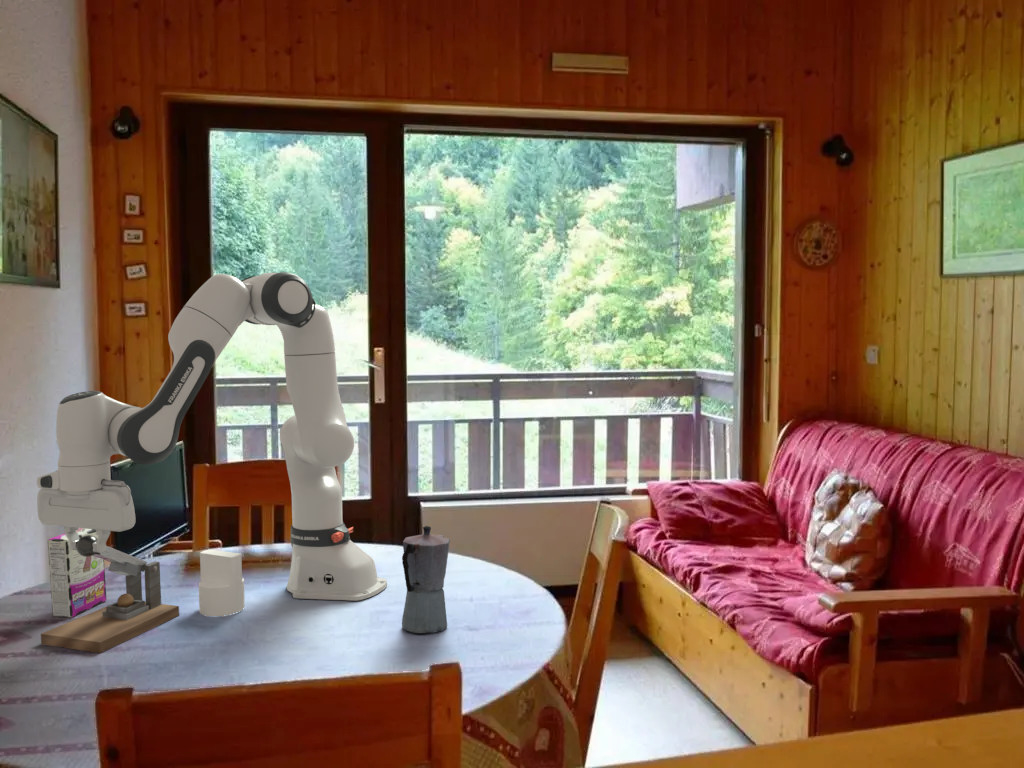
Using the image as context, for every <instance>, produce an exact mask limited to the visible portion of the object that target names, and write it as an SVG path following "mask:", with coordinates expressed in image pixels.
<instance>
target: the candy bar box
mask: <svg viewBox="0 0 1024 768" xmlns="http://www.w3.org/2000/svg"><path fill="white" fill-rule="evenodd" d="M76 531H77V533H78V536H79V538H82V537H83V536H87V535H91V536H94V537H96V538H97V539H98V536H99V535H96V529H86V528H79V529H78V530H76ZM47 552H48V567H49V578H50V579H49V580H50V598H51V610H52V611H51V612H52V613H51V614H52V617H55V618H74V617H77V616H78V615H81V614H82V613H84V612H87V611H88V610H90V609H93V608H94V607H96V606H98V605H101V604H103V603H104V602H107V587H106V586H107V585H106V569H105V568H106V567H105V560H103V559H101V558H98V557H95V556H90V557H84V556H82V555H80V554H79V553H78V552H77V550H71V549H70V541H69V540H68V538H67V536H66V534H65V533H62V534H59V535H56V536H54V537H53V536H52V537H51V538H48V539H47Z"/></svg>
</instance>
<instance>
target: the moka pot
mask: <svg viewBox="0 0 1024 768" xmlns="http://www.w3.org/2000/svg"><path fill="white" fill-rule="evenodd" d="M422 528H423V534H417V535H412V536H407V537H405V538H404V540H403V541H402V548H403V553H402V557H401V560H402V566H403V573H404V579H405V586H406V596H405V602H404V606H403V607H404V608H403V614H402V618H401V627H402V629H403V630H404V631H407V632H410V633H414V634H431V633H438V632H441V631H444V630H445V629H446V628H447V627H448V620H447V619H448V618H447V609H446V599H445V590H444V586H445V578H446V572H447V565H448V556H449V549H450V541H451V540H450V538H449V537H448V538H447V537H445V536H444V535H443V534H430V533H431V529H432V527H431V526H428V525H426V526H423V527H422Z"/></svg>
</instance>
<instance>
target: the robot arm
mask: <svg viewBox="0 0 1024 768" xmlns="http://www.w3.org/2000/svg"><path fill="white" fill-rule="evenodd" d="M245 322H246V323H249V324H253V325H263V326H277V327H278V329H279V330H280V333H281V336H282V339H283V354H284V355H283V357H284V358H283V359H284V369H285V370H284V371H285V382H286V383H285V385H286V392H287V394H288V396H289V398H290V401H291V405H292V409H293V412H294V415H292V416H290V417H289V418H287V419H286V420H285V421H284V422H283V423H282V425H281V428H280V431H279V438H280V439H279V441H280V443H281V445H282V447H283V448H282V449H283V452H284V457H285V459H284V460H285V464H286V470H287V475H288V479H289V484H290V491H291V514H292V515H291V518H292V524H291V526H290V545H291V548H292V550H291V551H292V552H291V562H290V570H289V577H288V581H287V584H286V590H287V591H288V592H289V593H291V594H292V597H293V598H294V599H302V600H303V599H304V600H305V599H307V600H331V601H362V600H365V599H368V598H371V597H373V596H376V595H377V594H379V593H382V592H383V590H384V589H386V587H388V582H387V578H384V577H378V572H377V566H376V563H375V561H374V559H373V558H372V556H370V554H368V553H367V552H366V551H364V550H363V548H360V547H359V546H358V545H357V544H355V542H353V541H352V540H351V537H350V534H351V533H353V532H354V526H352V527H349V528H347V526H346V524H345V522H344V521H343V491H342V485H341V484H340V481H339V479H338V476H337V471H336V467H339V466H341V465H343V464H345V463H346V462H347V461H348V460H349V459H350V458H351V456H352V454H353V452H354V447H355V439H354V436H353V434H352V432H351V430H350V428H349V426H348V424H347V423H348V422H347V420H346V415H345V411H344V407H343V403H342V399H341V396H340V391H339V385H338V375H337V363H336V347H335V339H334V333H333V327H332V323H331V319H330V315H329V312H328V310H326V309H325V307H323V306H321V305H319V304H316V301H315V299H314V297H313V293H312V291H311V288H310V286H309V285H308V283H307V282H306V281H305V280H304V279H303V278H302V277H300V276H299V275H297V274H294V273H291V272H287V271H283V272H282V271H280V272H265V273H262V274H261V273H260V274H259V275H253V276H248V277H246V278H244V279H241V280H240V279H239V278H237V277H236V276H234V275H230V274H226V273H217V274H214V275H212V276H211V277H210V278H208V279H207V280H206V281H205V282H204V283H203V284H202V285H201V286H200V287H199V288H198V289H197V290H196V291H195V292H194V293H193V294H192V296H191V297H190V298H189V300H188V301H187V302H186V303H185V304H184V305H183V307H182V309H181V310H180V311H179V313H178V314H177V316H176V317H175V319H174V321H173V322H172V325H171V328H170V330H169V332H168V337H167V338H168V344H169V347H170V350H171V352H172V353H173V364H172V366H171V369H170V371H169V372H168V374H167V376H166V377H165V379H164V381H163V382H162V384H161V386H160V387H159V389H158V390H157V392H156V394H155V395H154V397H153V398H152V400H151V402H149V403H148V404H147V405H145V406H144V407H139V406H135V405H132V404H128V403H124V402H121V401H119V400H116V399H114V398H113V397H109V396H107V395H106V394H104V392H102V391H98V390H87V391H81V392H77V393H74V394H70V395H67V396H65V397H64V398H62V400H60V401H59V403H58V407H57V410H56V424H55V425H56V426H55V430H56V433H55V434H56V435H55V436H56V443H57V447H58V449H59V456H58V459H57V470H55V471H52V472H50V473H46V474H43V475H40V476H38V477H37V479H36V486H37V487H38V488H39V490H38V493H37V498H36V500H37V501H36V502H37V503H36V507H37V517H38V520H39V522H40V523H41V524H42V525H44V526H45V525H46V526H53V527H63V532H64V533H65V534H66V536H67V538H68V540H69V541H70V549H71V550H77V549H76V544H77V542H78V540H79V539H80V538H79V536H78V533H77V531H76V530H78V529H79V528H86V529H96V535H99V536H98V539H97V541H96V542H95V543H92V545H93V552H98V553H101V552H104V551H105V550H106V546H107V541H108V539H109V537H110V535H111V532H118V533H119V532H121V533H122V532H124V531H129V530H130V529H132V528H133V527H134V526H135V524H136V513H135V506H134V501H133V496H132V490H131V488H130V486H129V485H128V484H126V483H125V481H123V480H113V479H112V478H111V475H112V474H111V473H112V472H111V457H112V456H113V455H121V456H124V457H126V458H128V459H129V460H131V461H133V463H137V464H139V465H140V464H141V465H145V466H146V465H155V464H158V463H160V462H162V461H164V460H166V459H168V457H169V456H170V455H171V454H172V453H173V452H174V450H175V447H176V446H177V443H178V439H179V434H180V429H181V425H182V422H183V420H184V418H185V416H186V414H187V413H188V410H189V409H190V407H191V406H192V404H193V402H194V400H195V398H196V397H197V395H198V394H199V392H200V390H201V388H202V386H203V384H204V383H205V381H206V379H207V378H208V377H209V374H210V372H211V371H212V368H213V366H214V365H215V363H216V362H217V360H218V358H219V357H220V355H221V353H222V352H223V350H225V348H226V346H227V345H228V344H229V342H230V341H231V339H232V338H233V336H234V334H236V332H237V330H238V328H239V327H240V326H241V325H242V324H243V323H245ZM64 533H63V534H64Z"/></svg>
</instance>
